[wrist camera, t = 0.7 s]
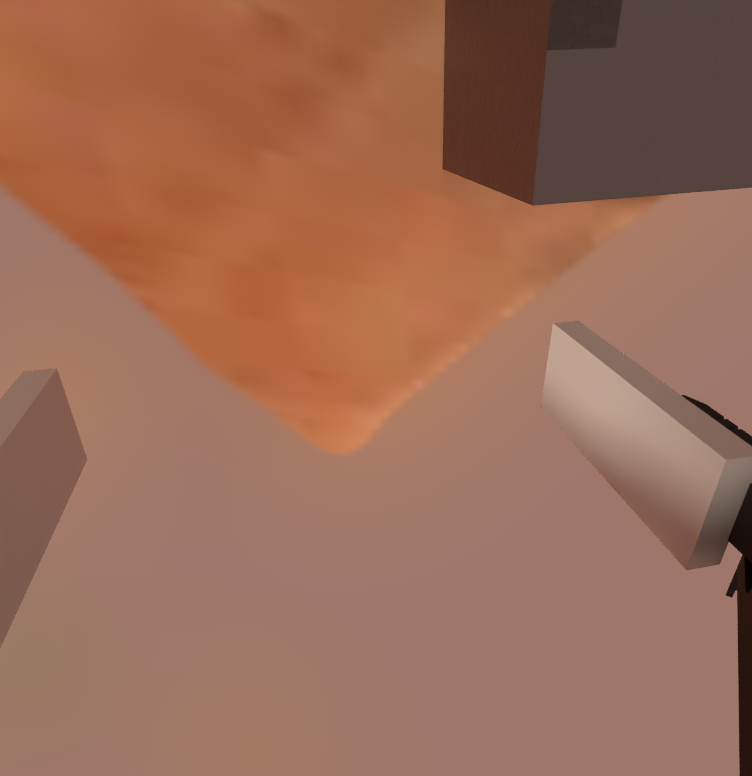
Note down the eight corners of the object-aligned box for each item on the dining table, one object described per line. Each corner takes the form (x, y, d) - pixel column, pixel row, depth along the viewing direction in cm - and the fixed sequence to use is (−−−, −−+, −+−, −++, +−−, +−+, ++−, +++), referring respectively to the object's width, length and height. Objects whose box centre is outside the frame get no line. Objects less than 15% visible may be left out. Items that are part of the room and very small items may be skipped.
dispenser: (447, -102, 30) (573, -234, 18) (660, -101, 32) (904, -221, 20) (442, 169, 37) (532, 205, 25) (619, 156, 39) (783, 184, 27)
